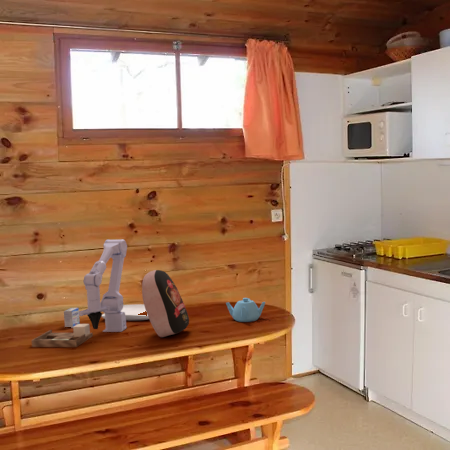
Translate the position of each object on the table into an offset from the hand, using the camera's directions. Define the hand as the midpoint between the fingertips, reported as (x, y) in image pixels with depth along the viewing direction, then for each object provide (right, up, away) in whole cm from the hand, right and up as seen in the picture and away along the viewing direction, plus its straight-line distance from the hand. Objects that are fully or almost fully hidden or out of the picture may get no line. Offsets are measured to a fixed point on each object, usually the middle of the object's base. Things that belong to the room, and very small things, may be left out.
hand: (95, 328), depth 267 cm
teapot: (+70, 0, +24) cm, 74 cm away
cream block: (-7, -3, +1) cm, 8 cm away
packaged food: (+33, -3, +2) cm, 33 cm away
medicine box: (-18, -4, +27) cm, 33 cm away
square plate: (+11, -2, +44) cm, 45 cm away
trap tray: (-14, -5, -2) cm, 15 cm away
